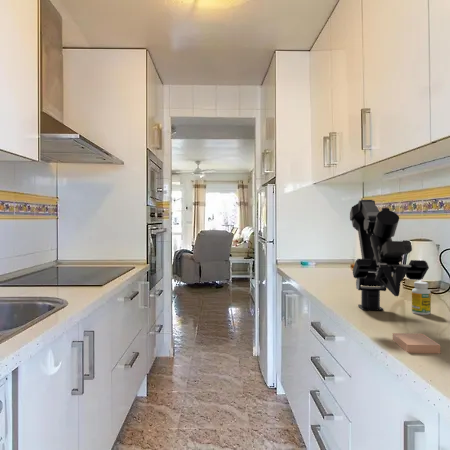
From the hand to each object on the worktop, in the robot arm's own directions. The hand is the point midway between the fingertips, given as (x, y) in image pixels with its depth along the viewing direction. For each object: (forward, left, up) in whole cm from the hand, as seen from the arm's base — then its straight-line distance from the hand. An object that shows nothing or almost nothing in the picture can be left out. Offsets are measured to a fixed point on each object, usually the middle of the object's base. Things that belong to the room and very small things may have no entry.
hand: (397, 295), depth 103 cm
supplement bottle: (-22, +15, -10) cm, 29 cm away
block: (+7, 0, -9) cm, 11 cm away
